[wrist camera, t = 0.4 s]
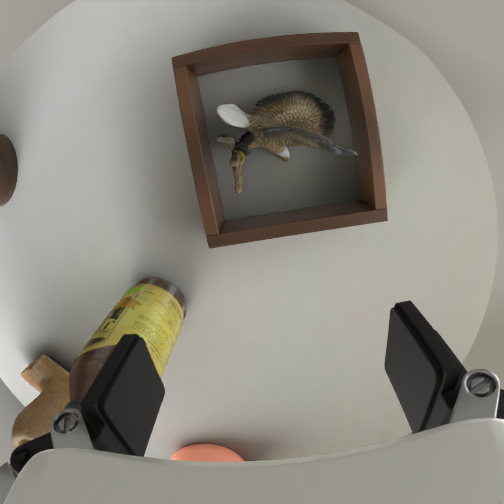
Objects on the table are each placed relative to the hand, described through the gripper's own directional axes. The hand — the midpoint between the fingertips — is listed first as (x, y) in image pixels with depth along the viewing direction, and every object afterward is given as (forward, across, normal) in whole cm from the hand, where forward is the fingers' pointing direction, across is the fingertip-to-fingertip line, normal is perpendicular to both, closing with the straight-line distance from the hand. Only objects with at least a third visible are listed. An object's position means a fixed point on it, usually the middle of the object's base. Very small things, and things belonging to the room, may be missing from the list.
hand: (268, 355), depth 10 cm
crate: (+17, -2, -8) cm, 19 cm away
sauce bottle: (+17, +12, +6) cm, 22 cm away
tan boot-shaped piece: (+17, +30, +18) cm, 39 cm away
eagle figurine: (+17, -2, -8) cm, 19 cm away
